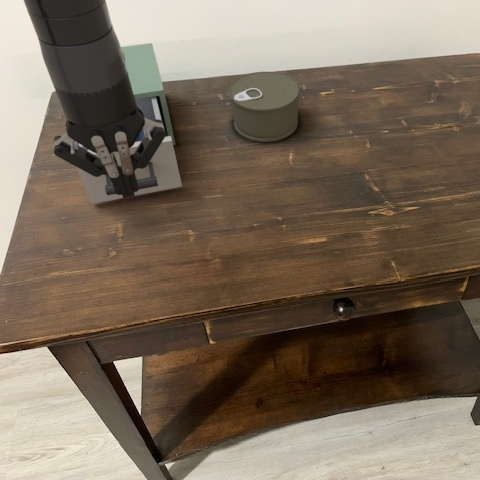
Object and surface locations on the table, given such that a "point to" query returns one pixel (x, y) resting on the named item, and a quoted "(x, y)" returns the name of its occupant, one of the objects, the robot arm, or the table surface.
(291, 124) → the can
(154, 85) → the mint green cabinet box
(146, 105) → the drawer
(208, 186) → the table surface
